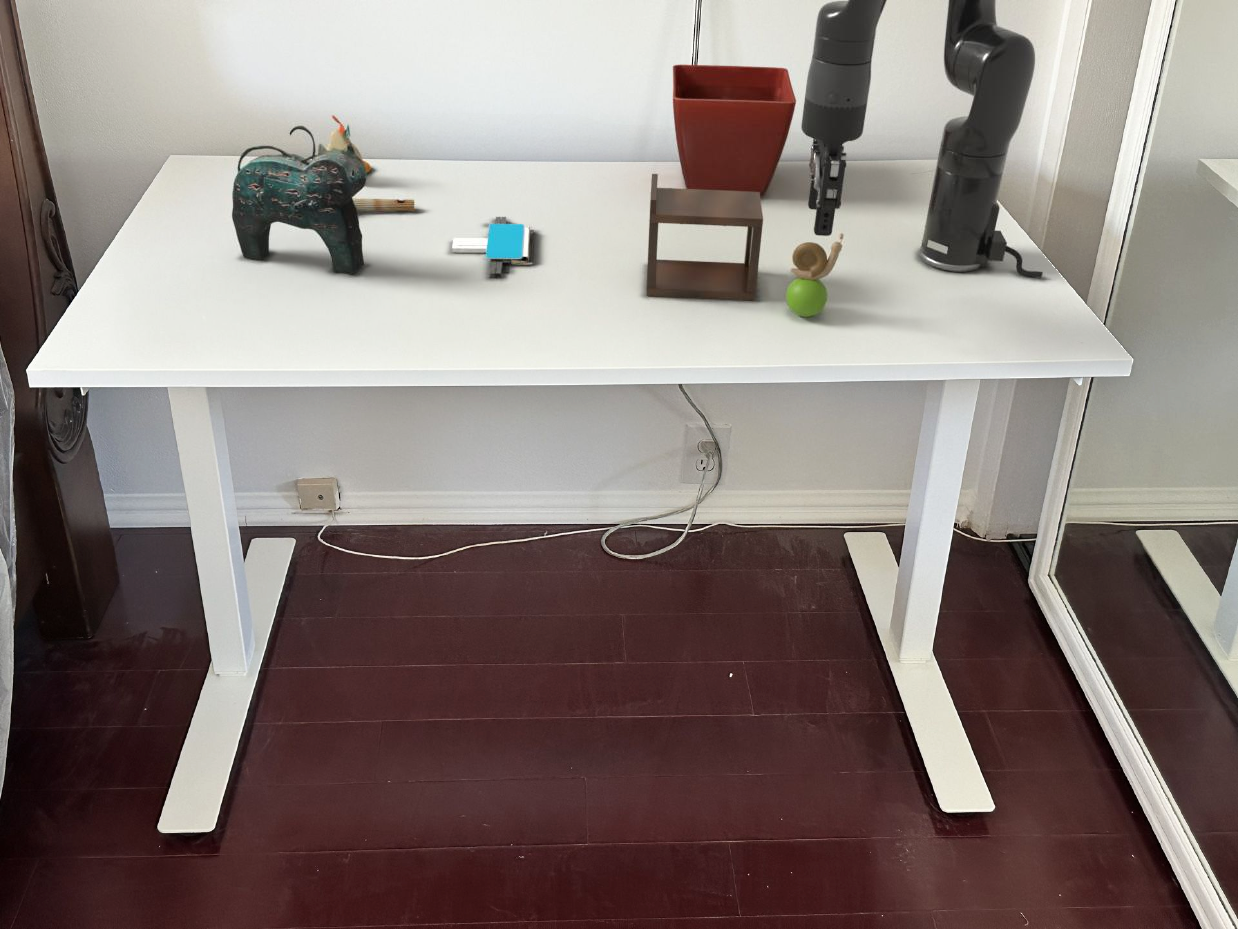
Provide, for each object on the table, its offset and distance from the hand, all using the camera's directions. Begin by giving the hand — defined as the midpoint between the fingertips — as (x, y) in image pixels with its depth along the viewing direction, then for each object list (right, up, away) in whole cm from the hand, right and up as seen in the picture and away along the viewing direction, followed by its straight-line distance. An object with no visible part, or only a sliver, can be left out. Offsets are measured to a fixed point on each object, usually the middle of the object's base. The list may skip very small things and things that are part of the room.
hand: (819, 221), depth 150 cm
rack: (-14, -6, +15) cm, 21 cm away
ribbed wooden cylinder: (-68, +8, +32) cm, 76 cm away
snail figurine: (0, -11, +8) cm, 14 cm away
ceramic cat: (-71, -3, +17) cm, 73 cm away
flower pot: (-8, +16, +47) cm, 50 cm away
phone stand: (-44, +1, +23) cm, 50 cm away
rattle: (-69, +16, +44) cm, 83 cm away
